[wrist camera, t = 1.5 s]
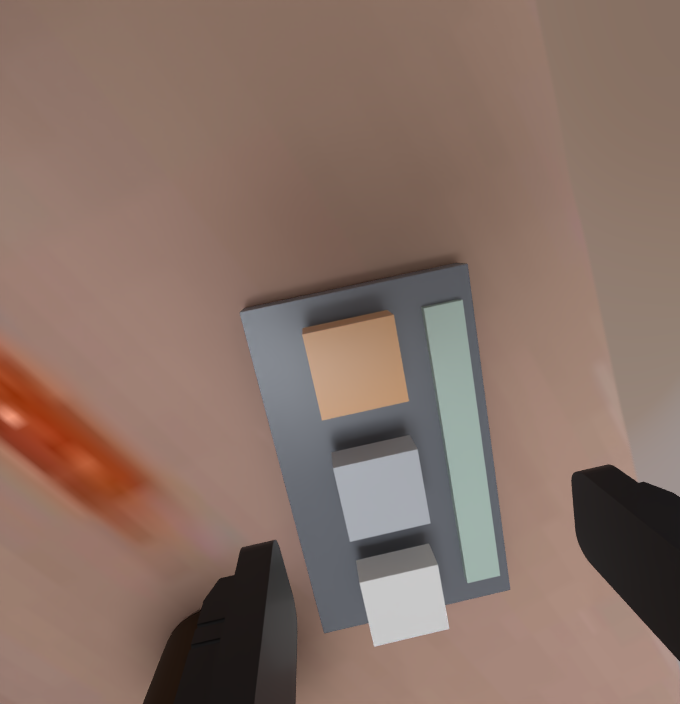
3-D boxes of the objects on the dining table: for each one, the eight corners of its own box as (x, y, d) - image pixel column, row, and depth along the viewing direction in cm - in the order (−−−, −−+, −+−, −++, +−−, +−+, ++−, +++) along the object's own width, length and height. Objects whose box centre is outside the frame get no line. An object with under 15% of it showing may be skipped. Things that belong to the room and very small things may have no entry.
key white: (369, 620, 30) (374, 646, 28) (355, 560, 28) (359, 582, 27) (440, 604, 30) (449, 628, 28) (429, 543, 29) (437, 564, 27)
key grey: (347, 521, 28) (349, 541, 26) (331, 452, 27) (333, 468, 25) (422, 504, 28) (430, 523, 26) (409, 434, 27) (417, 449, 25)
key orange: (320, 407, 26) (321, 420, 24) (302, 328, 25) (302, 334, 23) (401, 390, 26) (408, 401, 24) (386, 309, 25) (393, 314, 23)
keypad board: (323, 610, 33) (324, 640, 31) (244, 308, 27) (238, 313, 25) (498, 570, 33) (514, 596, 31) (456, 262, 28) (471, 264, 25)
